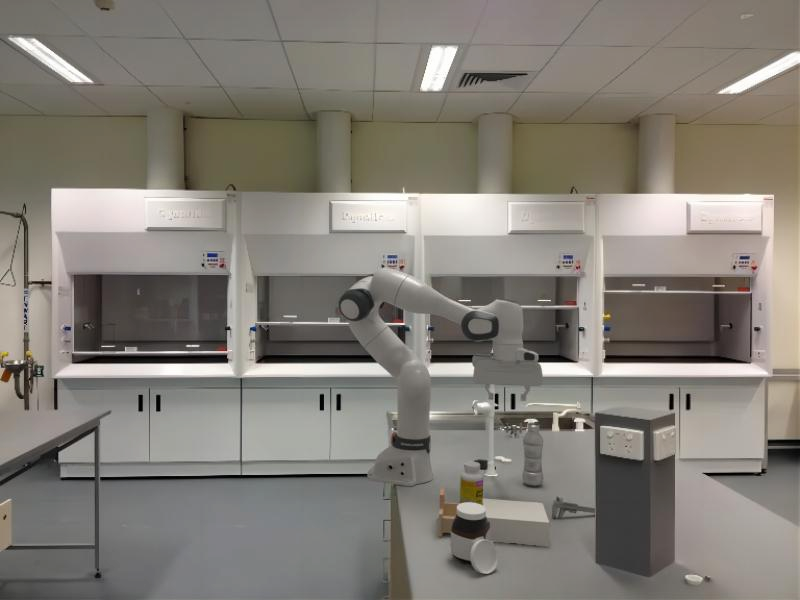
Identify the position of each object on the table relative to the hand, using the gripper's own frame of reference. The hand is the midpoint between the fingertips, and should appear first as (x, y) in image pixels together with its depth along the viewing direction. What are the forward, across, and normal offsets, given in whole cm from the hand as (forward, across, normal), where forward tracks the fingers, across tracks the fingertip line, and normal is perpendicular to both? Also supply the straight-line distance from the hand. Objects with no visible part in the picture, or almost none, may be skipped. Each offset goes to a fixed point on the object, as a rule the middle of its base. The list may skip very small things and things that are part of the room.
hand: (507, 399), depth 147 cm
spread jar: (+31, -9, -34) cm, 47 cm away
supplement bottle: (+31, -10, -4) cm, 33 cm away
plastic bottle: (+31, +10, +18) cm, 37 cm away
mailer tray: (+31, -10, -18) cm, 37 cm away
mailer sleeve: (+31, +1, -18) cm, 36 cm away
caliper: (+32, +22, -4) cm, 39 cm away
